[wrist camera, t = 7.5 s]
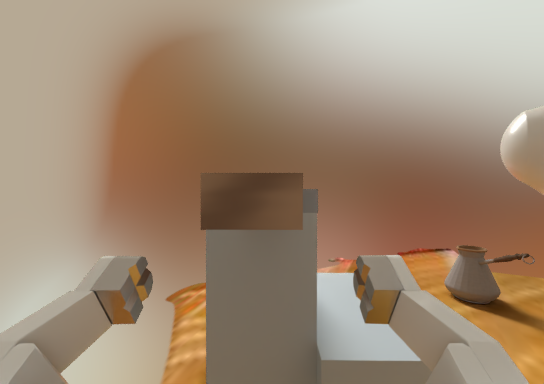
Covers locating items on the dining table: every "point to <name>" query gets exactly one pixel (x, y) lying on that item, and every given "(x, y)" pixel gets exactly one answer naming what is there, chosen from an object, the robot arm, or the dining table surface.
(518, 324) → the dining table surface
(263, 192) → the brown bar
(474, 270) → the coffee pot
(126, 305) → the robot arm
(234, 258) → the step box
